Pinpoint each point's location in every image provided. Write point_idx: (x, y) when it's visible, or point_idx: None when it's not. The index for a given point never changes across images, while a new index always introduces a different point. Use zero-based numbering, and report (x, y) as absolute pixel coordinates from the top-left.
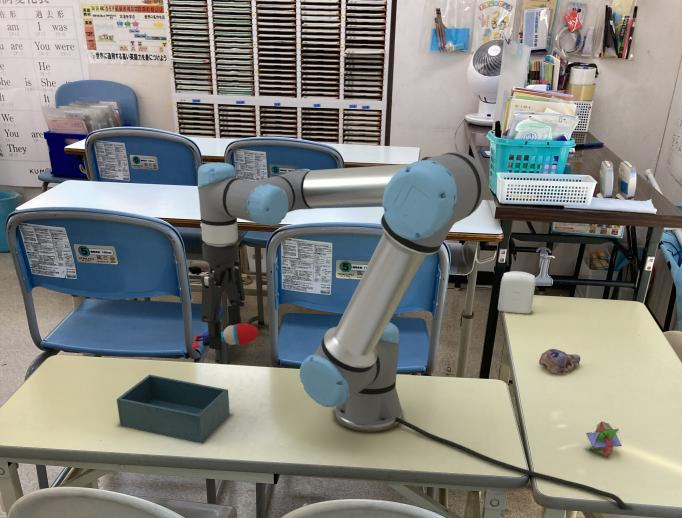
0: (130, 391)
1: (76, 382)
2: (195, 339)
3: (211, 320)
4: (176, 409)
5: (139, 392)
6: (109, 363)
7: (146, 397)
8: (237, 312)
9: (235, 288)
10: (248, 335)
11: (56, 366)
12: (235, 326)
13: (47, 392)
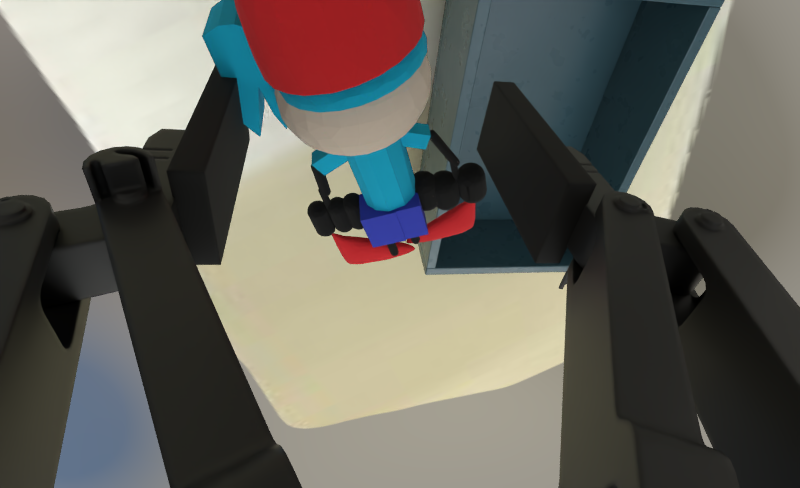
0: (537, 265)
1: (383, 366)
2: (405, 249)
3: (727, 228)
4: (467, 139)
5: (491, 250)
6: (275, 366)
7: None
8: (213, 159)
9: (188, 372)
10: None
11: (334, 414)
12: (366, 84)
13: (437, 377)
